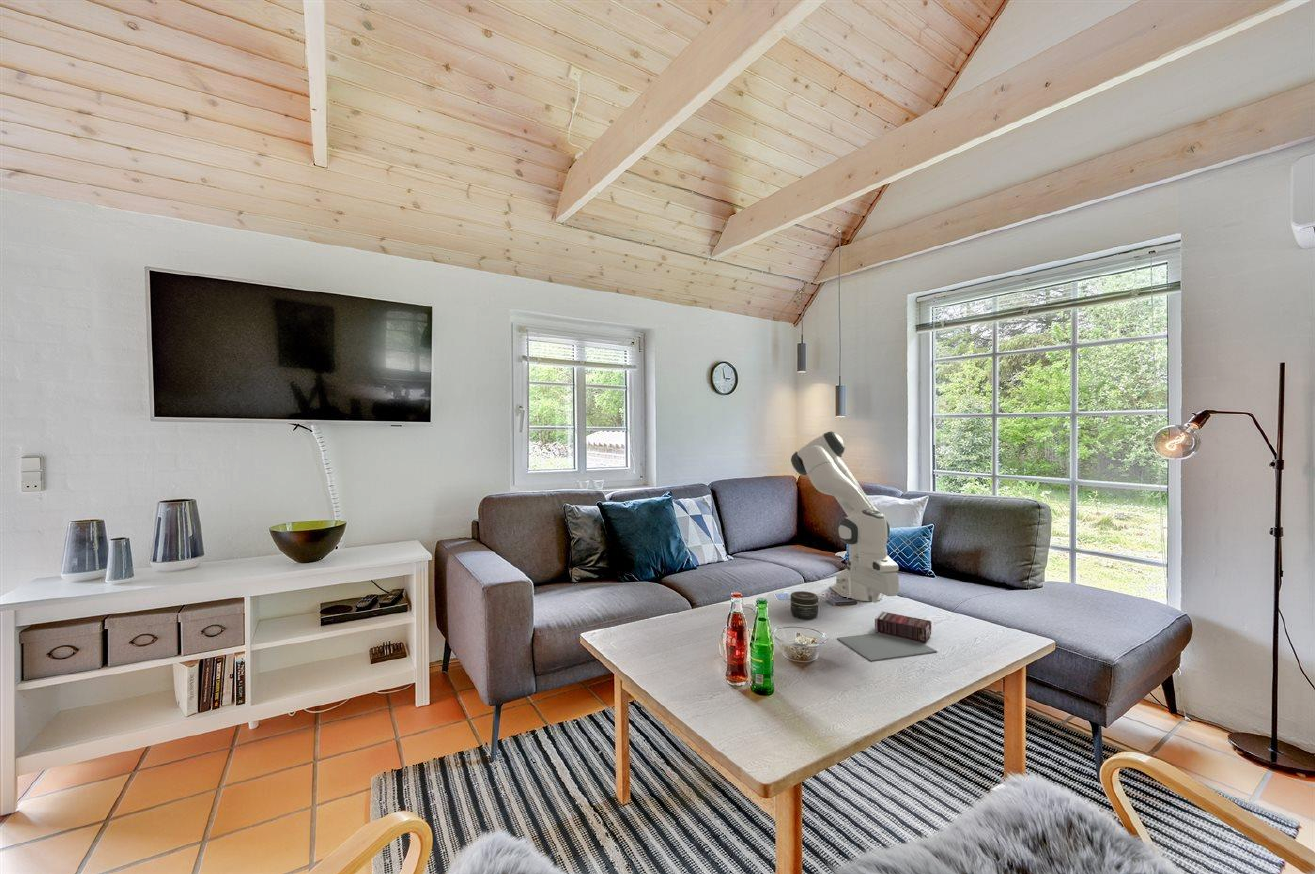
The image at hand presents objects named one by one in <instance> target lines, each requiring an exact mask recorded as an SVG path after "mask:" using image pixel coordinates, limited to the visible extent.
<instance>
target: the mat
mask: <svg viewBox="0 0 1315 874" xmlns="http://www.w3.org/2000/svg"><path fill="white" fill-rule="evenodd" d="M836 640H838V641H839V642H840V643H842V644H844V645H845V646H847V647H848V648H850V649H851V650H852V651H855V652H856V653H857V654H859V655H861V657H863V658H865V660H868V661H869V662H878V661H884V660H890V659H892V660H893V659H899V658H905V657H907V658H908V657H913V656H919V655H929V654H934V653H938V650H936V649H934V648H932V647H931V646H929V645H927V644H925V643H924V642H921V641H917V640H912V639H908V638H903V637H899V636H894V635H889V634H885V633H880V632H874V633H867V634H864V633H863V634H857V635H856V634H855V635H849V636H848V635H847V636H841V637H837V638H836Z"/></svg>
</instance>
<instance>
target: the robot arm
mask: <svg viewBox="0 0 1315 874" xmlns="http://www.w3.org/2000/svg"><path fill="white" fill-rule="evenodd" d="M845 449H846V447H845V443H844V440H843V438H842V437H841V436H840V435H839V434H837V433H836V432H835V431H827V432H825V433H823V434H822V435H820V436H818V437H815V438H814V439H812V440H811V441H809V442H808V443H807V444H805V445H804V446H802V447H801V448H800V449H799V450H797V451H795V452H794V453H793V454H792V455H791V458H790V463H791V467H792V468H793V470H794V471H795V472H797V473H798V475H801V476H804V477H805V476H807V477H808V479H809V480H810V482H811V484H812V486H813V487H814V488H815V489H816V490H817V491H818V492H819V493H822V494H824V495H826V496H827V495H829V496H832V497H834V498H835V500H836V501H837V503H838V504H839V506H840V507H841V508H842V510H843V512H844V513H845V514H846V517H843V518H841V519H840V520H839V522H838V524H837V531H836V532H837V535H838V538H839V540H840V541H841V542H842V543H844V544H845V545H848V549H849V550H848V554H849V555H848V557H849V558H848V560H847V559H845V564H846V567H845V569H843V570H841V571H840V572H838V573H837V574H836V577H835V578H836V579H835V583H832V584H830V585H829V588H830V589H831V590H833V591H834V592H836V594H837V595H839V596H840V595H841V597H842V596H843V597H847V598H846V599H848V598H852V599H851V600H856V601H861V602H862V601H863V602H871V603H874V604H877V603H878V601H881V600H882V598H883V596H886V597H896V596H897V595H898V593H899V588H900V587H899V585H900V583H899V574H898V573H897V572H898V571H899V569H900V568H899V565H898V563H896V561H894V560H893V559H892V558H891V557H890V556H889V555H888V549H887V542H888V538H889V536H890V530H891V528H890V524H889V522H888V520H887V518H886V515H885V514H884V513H883V512H881V511H879V510H878V508H877V507H876V506H874V504H873V503H872V502H871V500H870V499H869V498H868V496H867V494H866V493H865V491H864V490H863V488H862V487H861V485H860V484H859V482H858V481H857V479H856V478H855V477H854V474H853V473H852V472H851V470H850V469H849V467H848V466H847V465H846V463H844V461H843V460H842V459H841V458H842V455H843V454H844V452H845ZM843 597H842V598H843Z"/></svg>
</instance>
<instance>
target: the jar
mask: <svg viewBox="0 0 1315 874" xmlns="http://www.w3.org/2000/svg"><path fill="white" fill-rule="evenodd" d="M790 613H791V615H792V616H793V617H794V618H796V619H799V620H807V621H809V620H814V619H817V617H818V614H819V595H817V594H816V593H813V592H810V591H806V590H805V591H801V590H800V591H799V590H798V591H793V592H792V593H790Z"/></svg>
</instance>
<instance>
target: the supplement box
mask: <svg viewBox="0 0 1315 874" xmlns="http://www.w3.org/2000/svg"><path fill="white" fill-rule="evenodd" d="M874 632H875V633H885V634H889V635H894V636H899V637H903V638H908V639H912V640H917V641H919V642H921V643H927V641H928V640H929V639H930V637H931V635H932V621H931V620H929V619H922V618H917V617H913V616H907V615H903V614H897V613H891V612H886V611H881V612H879V613H878V615H877V616H876V617H875V618H874Z"/></svg>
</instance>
